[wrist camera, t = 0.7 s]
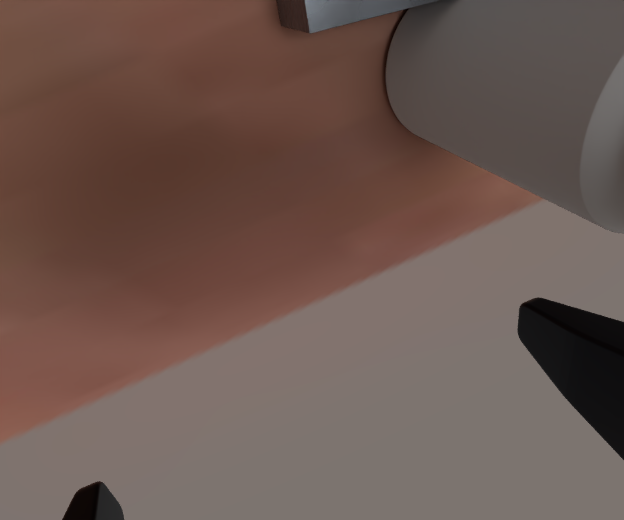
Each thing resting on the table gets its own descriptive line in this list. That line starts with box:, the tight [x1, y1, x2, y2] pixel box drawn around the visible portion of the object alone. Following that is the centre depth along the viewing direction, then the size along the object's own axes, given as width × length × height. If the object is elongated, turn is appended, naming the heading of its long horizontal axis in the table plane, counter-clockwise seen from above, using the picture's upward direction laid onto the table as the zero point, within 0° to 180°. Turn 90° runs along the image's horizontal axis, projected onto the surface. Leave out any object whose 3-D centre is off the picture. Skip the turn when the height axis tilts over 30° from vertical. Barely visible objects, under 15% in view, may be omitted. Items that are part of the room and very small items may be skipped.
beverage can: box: [386, 0, 624, 233], centre depth 16 cm, size 6×6×12 cm
